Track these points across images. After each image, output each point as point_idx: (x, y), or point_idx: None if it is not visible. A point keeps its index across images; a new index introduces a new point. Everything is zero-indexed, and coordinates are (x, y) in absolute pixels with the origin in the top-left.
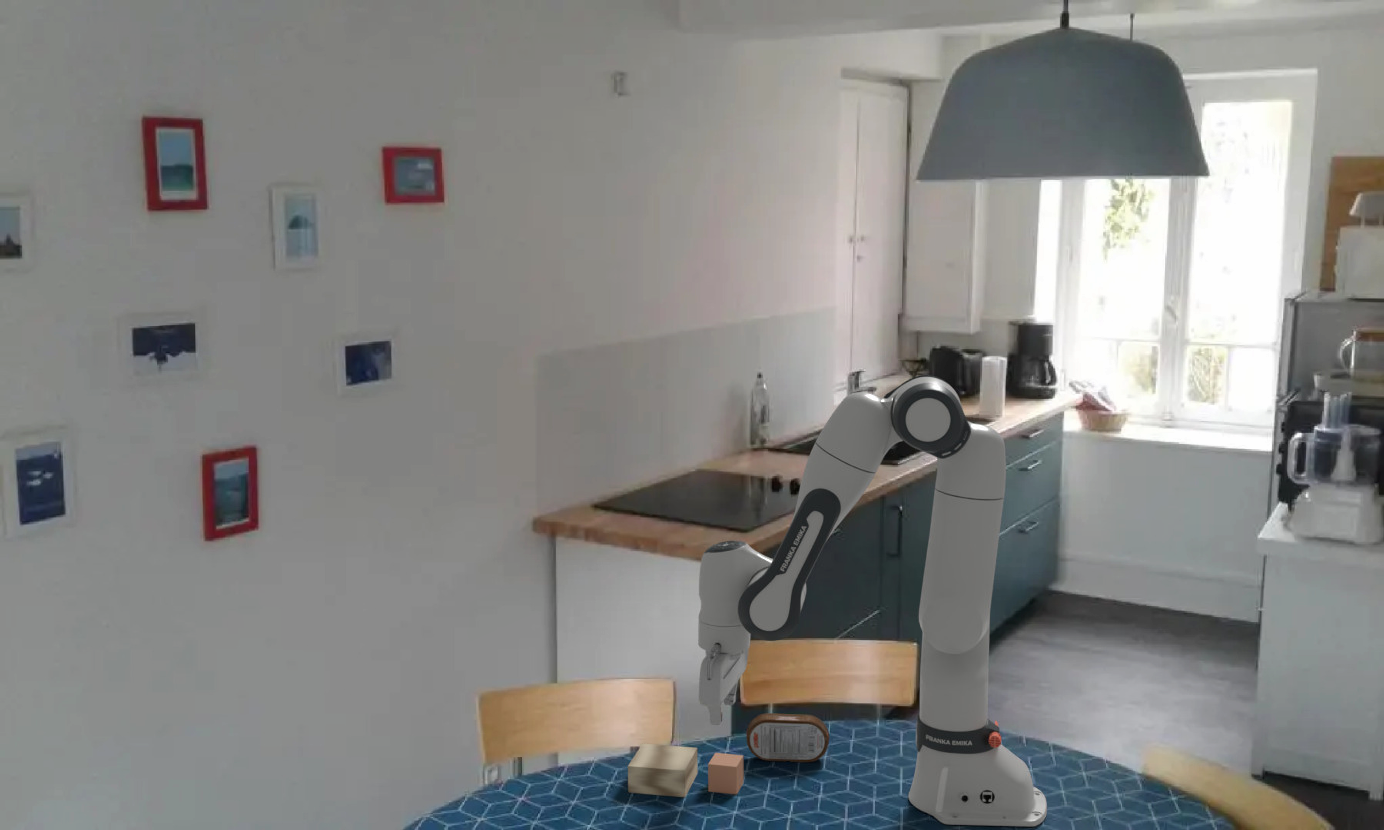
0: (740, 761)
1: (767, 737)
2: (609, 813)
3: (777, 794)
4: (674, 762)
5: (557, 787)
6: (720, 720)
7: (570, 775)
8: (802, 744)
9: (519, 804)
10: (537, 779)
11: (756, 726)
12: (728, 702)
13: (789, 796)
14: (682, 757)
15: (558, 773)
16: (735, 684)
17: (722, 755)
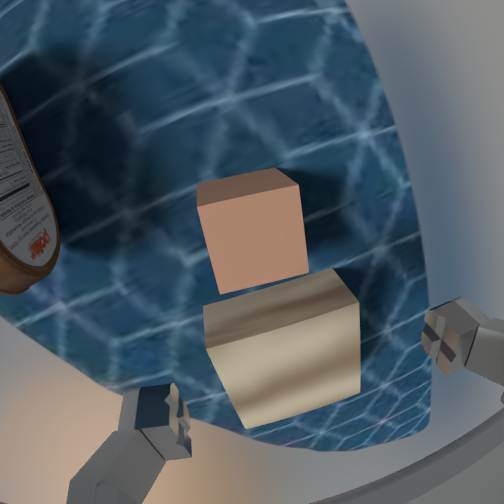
0: (241, 195)
1: (18, 216)
2: (414, 332)
3: (228, 69)
4: (319, 344)
5: (346, 420)
6: (470, 304)
7: (306, 432)
8: None
9: (397, 413)
10: (329, 442)
11: (22, 261)
12: (177, 408)
13: (226, 37)
14: (283, 346)
15: (304, 441)
16: (107, 481)
17: (229, 267)
